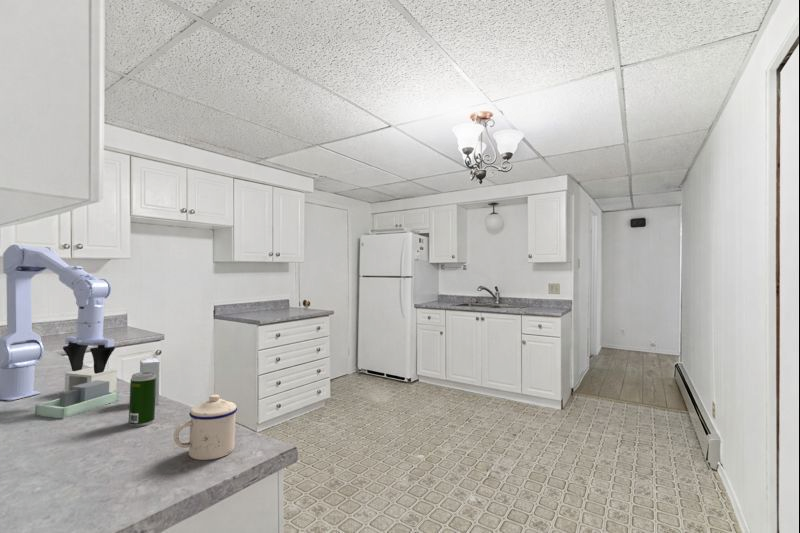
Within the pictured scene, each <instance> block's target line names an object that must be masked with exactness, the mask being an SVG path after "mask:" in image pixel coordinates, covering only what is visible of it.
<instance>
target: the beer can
mask: <svg viewBox="0 0 800 533" xmlns="http://www.w3.org/2000/svg"><path fill="white" fill-rule="evenodd" d="M155 396H156V375H155V372H141V373H140V372H136V373H133V374H131V378H130V386H129V404H128V424H129V426H130V427H133V428H138V427H146V426H149V425H151V424H153V422H154V421H155V417H156V415H155V414H156V413H155V412H156V405H155Z"/></svg>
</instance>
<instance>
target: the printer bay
mask: <svg viewBox="0 0 800 533" xmlns="http://www.w3.org/2000/svg"><path fill="white" fill-rule="evenodd" d="M64 376H65V378H64V392H67V391H71V390H72V386H76V385H80V384H84V383H88V382H92V381H96V380H100V381H109V391H112V392H115V391H114V390H116V391H117V380H118V369H116V368H106V367H105V369H104V372H101V373H97V374H96V373H94V366H93V367H86V368H82V370H78V371H72V370H71V371H67V372H65V375H64Z"/></svg>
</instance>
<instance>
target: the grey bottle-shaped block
mask: <svg viewBox="0 0 800 533" xmlns="http://www.w3.org/2000/svg"><path fill="white" fill-rule="evenodd" d="M108 394H109V381H100V380H96V381H92V382H88V383H84V384H80V385H76V386H72V390H71V391H67V392H65V391H64V392H60V395H59V399H60V407H68V406H71V405H74V404H78V403H81V402H84V401H88V400H91V399H94V398H98V397H101V396H104V395H108Z"/></svg>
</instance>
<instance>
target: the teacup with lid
mask: <svg viewBox="0 0 800 533" xmlns="http://www.w3.org/2000/svg"><path fill="white" fill-rule="evenodd" d="M237 411H238V407H237V405H236V403H234V402H232V401H227V400H226V399H222V398H221V397H220V395H219V394H211V395H209V397H208V399H207V400H205V401H204V402H201V403H199V404H195V405H194V406H193V407H192V408H191V409H190V411H189V417H190V418H189V421H184V422H182V423H181V424H179V425H177V427H175V430H174V432H173V440H174V442H175V444H176V445H177V446H178V447H180V448H182V449H183V448H186V449H187V448H188V455H189V457H191V459H194V460H198V461H209V460H210V461H211V460H217V459H220V458H223V457H225V456H228V455H229V454H231V453H233V451H234V450H235V438H236V437H235V436H236V416H237ZM186 427H189V441H188V442H182V441H180V438H179V435H180V432H181V431H182V430H183V429H184V428H186Z"/></svg>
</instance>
